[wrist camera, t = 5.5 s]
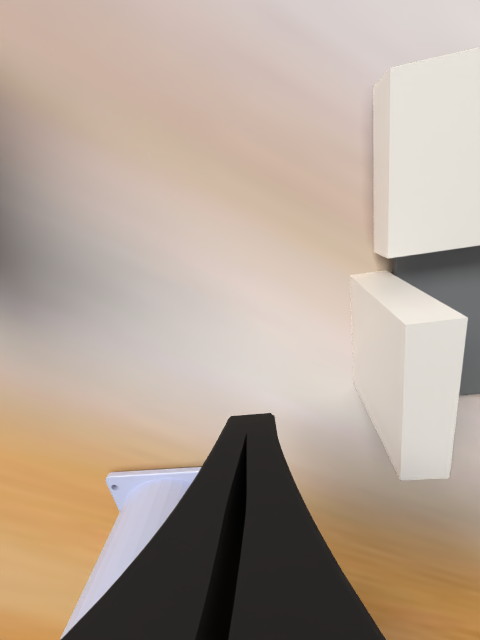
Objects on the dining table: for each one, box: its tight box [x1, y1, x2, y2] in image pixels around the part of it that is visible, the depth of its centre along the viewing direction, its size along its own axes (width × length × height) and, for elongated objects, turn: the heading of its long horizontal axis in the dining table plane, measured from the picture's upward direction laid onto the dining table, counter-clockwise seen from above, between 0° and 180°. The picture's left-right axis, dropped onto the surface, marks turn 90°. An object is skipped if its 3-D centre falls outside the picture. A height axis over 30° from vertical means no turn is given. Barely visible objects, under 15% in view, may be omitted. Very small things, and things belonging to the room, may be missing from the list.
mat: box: [393, 245, 480, 395], centre depth 13 cm, size 14×6×1 cm, turn 10°
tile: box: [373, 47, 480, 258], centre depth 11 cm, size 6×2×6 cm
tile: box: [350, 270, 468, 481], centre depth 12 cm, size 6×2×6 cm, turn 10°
